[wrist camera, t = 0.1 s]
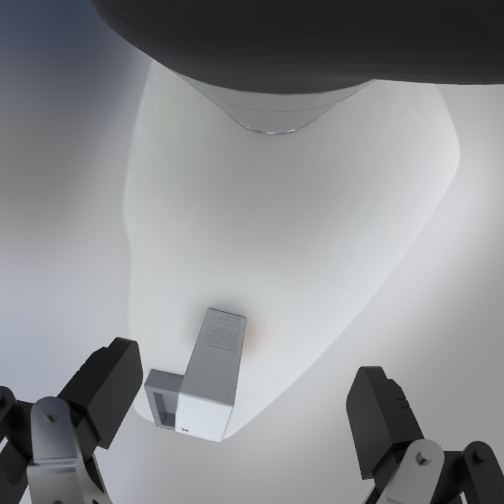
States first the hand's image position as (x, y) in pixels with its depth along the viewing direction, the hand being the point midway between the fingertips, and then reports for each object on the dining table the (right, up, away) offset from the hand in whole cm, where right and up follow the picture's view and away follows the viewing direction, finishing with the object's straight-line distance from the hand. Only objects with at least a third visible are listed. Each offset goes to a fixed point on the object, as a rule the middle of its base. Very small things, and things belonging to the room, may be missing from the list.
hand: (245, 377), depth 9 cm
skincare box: (-3, -4, +21) cm, 21 cm away
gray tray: (-9, -16, +25) cm, 31 cm away
